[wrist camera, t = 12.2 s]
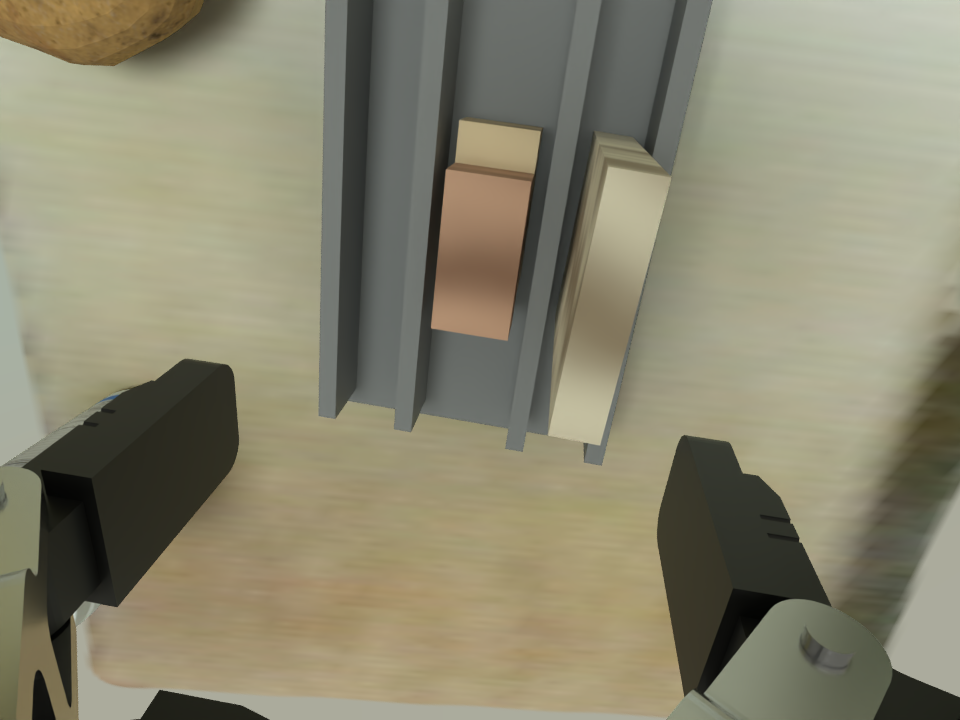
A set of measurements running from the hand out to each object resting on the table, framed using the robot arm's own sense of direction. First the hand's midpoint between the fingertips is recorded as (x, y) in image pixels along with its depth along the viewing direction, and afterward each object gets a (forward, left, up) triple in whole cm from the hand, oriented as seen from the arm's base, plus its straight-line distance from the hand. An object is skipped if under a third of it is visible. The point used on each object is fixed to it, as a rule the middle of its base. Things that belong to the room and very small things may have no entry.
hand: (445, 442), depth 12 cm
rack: (+2, -2, -27) cm, 27 cm away
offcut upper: (+3, -2, -23) cm, 23 cm away
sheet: (+1, +4, -26) cm, 26 cm away
